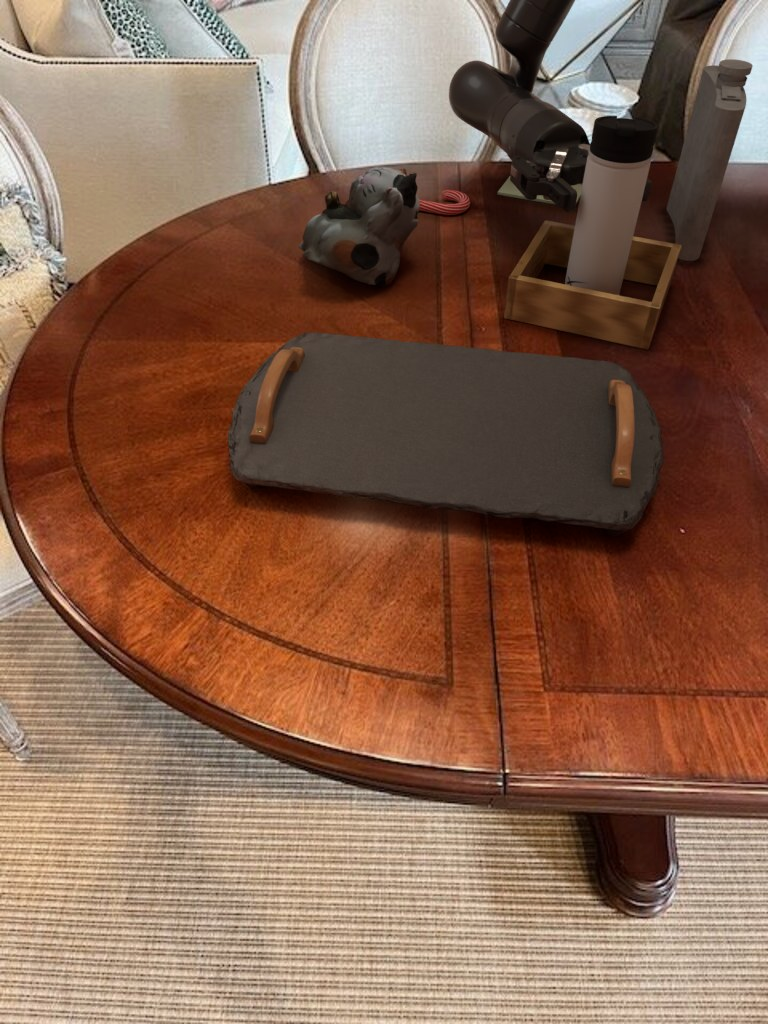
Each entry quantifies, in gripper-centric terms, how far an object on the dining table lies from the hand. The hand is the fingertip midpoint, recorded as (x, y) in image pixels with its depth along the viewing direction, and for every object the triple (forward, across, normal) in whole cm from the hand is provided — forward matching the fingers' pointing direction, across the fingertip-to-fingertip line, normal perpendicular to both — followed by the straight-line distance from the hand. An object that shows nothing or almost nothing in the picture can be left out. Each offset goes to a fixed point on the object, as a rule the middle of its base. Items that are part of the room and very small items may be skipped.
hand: (610, 197), depth 82 cm
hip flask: (-12, +20, +12) cm, 26 cm away
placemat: (-30, +9, +12) cm, 34 cm away
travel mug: (0, 0, +12) cm, 12 cm away
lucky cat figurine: (-16, -23, +12) cm, 31 cm away
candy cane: (-30, -11, +12) cm, 34 cm away
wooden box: (0, 0, +12) cm, 12 cm away
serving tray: (+18, -25, +12) cm, 33 cm away
